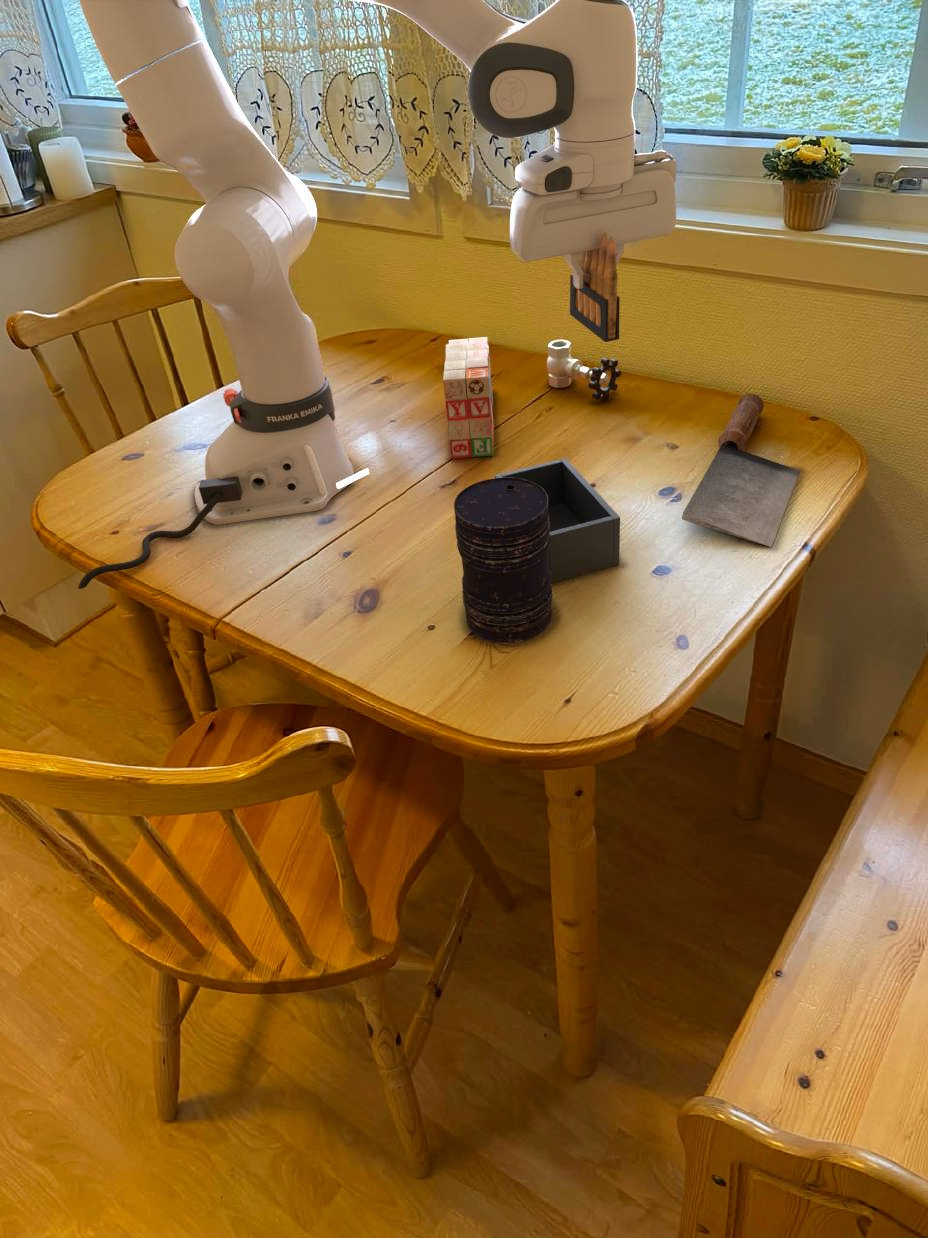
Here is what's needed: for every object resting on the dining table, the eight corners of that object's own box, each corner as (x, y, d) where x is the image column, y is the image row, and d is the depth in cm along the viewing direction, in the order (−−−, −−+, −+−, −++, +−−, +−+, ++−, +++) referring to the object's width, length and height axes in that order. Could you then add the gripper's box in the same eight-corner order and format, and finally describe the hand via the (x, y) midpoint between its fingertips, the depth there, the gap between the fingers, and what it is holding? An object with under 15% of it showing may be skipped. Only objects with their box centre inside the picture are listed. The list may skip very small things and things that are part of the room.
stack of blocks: (454, 394, 150) (446, 319, 142) (492, 391, 149) (487, 316, 141) (450, 459, 133) (442, 378, 125) (494, 456, 132) (488, 375, 125)
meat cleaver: (772, 547, 109) (777, 518, 107) (678, 531, 114) (680, 503, 111) (817, 423, 133) (821, 397, 130) (737, 413, 137) (740, 388, 134)
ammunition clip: (569, 313, 120) (569, 216, 113) (582, 311, 120) (583, 214, 113) (605, 342, 112) (607, 239, 105) (619, 339, 112) (622, 237, 105)
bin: (544, 585, 107) (542, 538, 103) (497, 519, 119) (494, 474, 115) (619, 564, 109) (620, 517, 105) (566, 502, 121) (565, 457, 117)
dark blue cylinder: (535, 652, 98) (530, 534, 89) (451, 635, 102) (437, 520, 92) (564, 597, 105) (562, 483, 96) (484, 583, 109) (474, 471, 99)
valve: (536, 386, 149) (593, 407, 142) (535, 347, 145) (593, 366, 138) (564, 373, 152) (621, 392, 145) (564, 334, 148) (622, 352, 141)
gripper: (663, 142, 109) (657, 261, 118) (501, 169, 105) (507, 291, 113) (691, 152, 104) (682, 276, 113) (522, 181, 100) (526, 308, 109)
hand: (593, 284), depth 113 cm, fingers closed on ammunition clip, 2 cm apart
